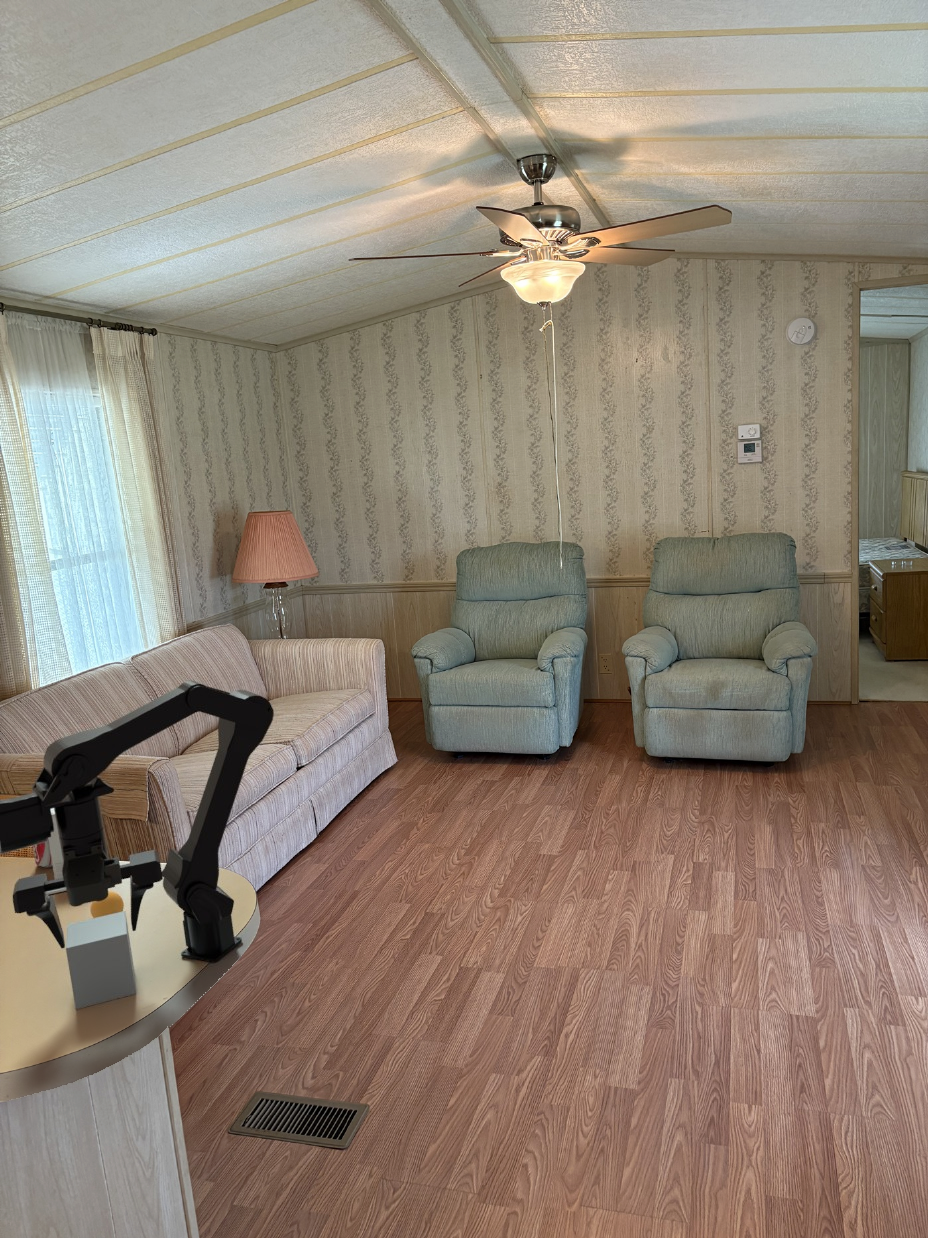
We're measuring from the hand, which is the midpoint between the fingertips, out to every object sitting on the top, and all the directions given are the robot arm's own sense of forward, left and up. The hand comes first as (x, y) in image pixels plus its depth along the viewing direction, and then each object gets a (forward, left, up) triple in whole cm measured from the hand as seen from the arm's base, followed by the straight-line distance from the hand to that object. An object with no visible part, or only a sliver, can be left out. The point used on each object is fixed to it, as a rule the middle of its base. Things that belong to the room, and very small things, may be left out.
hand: (99, 938), depth 131 cm
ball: (+15, -16, -5) cm, 22 cm away
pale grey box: (0, 0, -7) cm, 7 cm away
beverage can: (+45, -32, -8) cm, 56 cm away
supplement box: (+37, -30, -8) cm, 49 cm away
